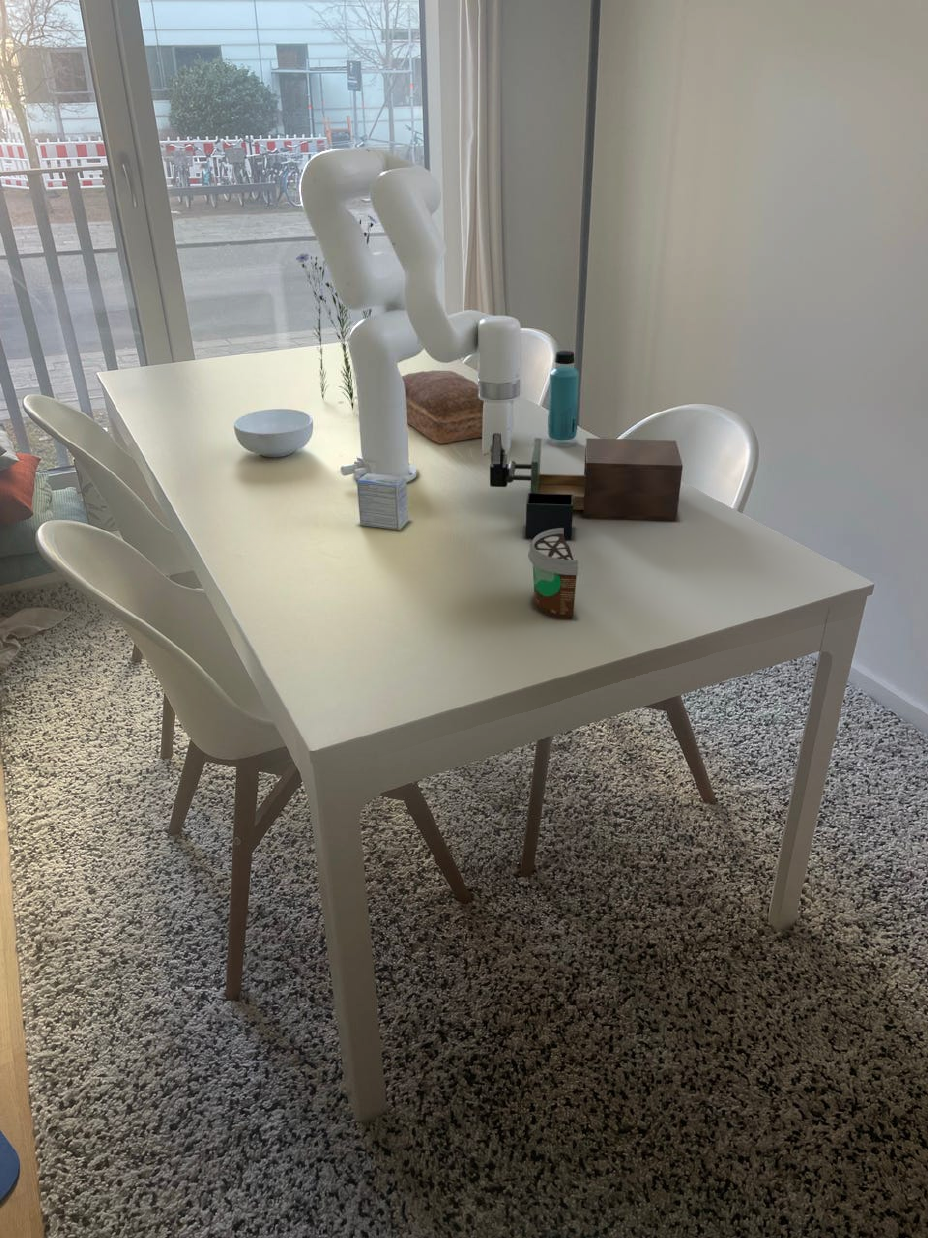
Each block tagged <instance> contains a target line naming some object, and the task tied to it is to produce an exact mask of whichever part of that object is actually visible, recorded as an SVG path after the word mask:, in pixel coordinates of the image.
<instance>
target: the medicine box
mask: <svg viewBox="0 0 928 1238" xmlns="http://www.w3.org/2000/svg"><path fill="white" fill-rule="evenodd" d="M356 488H357V502H358V503H357V504H358V516H359V525H360V526H365V527H373V528H380V529H381V528H382V529H388V530H396V531H401V529H402V528H403V527H404V526H405V525H406V524H407V523H408V522H409V509H408V508H409V507H408V490H407V489H408V488H407V483H406V478H405V477H397V476H389V475H379V474H370V473H367V474H365V475H364V476H363V477H361V478H360V479H359V480H357V481H356Z"/></svg>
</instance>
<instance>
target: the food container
mask: <svg viewBox="0 0 928 1238" xmlns="http://www.w3.org/2000/svg"><path fill="white" fill-rule="evenodd" d="M563 534H564V528H558V529H552V530H548V531H544V532H542V533H540V534H538V535H537V536H536V537H535V538H534V539H532V541H531V543H530V546H529V550H528V555H527V557H528V560H529V562H530V563H531V564H532V576H533V577H532V578H533V598H534V599H533V600H534V601H533V603H534V607H535V608H536V609H537V611H539V612H540V613H542V614H544V615H546V616H549V617H552V618H557V619H564V620H565V619H567V620H570V619H571V620H573V619H574V610H575V600H576V588H577V576H578V575H579V561H578V559H574V557H573V554H572V552H571V548H570V546H569V544H568V542H567V540H565V538H564V536H563Z"/></svg>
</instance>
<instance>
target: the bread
mask: <svg viewBox="0 0 928 1238" xmlns="http://www.w3.org/2000/svg"><path fill="white" fill-rule="evenodd" d="M401 376H402V378H403V381H404V385H405V391H406V410H407V424H408V425H410V426H412V427H413V428H414V429H416V430H417V432H419V433H420V434H422V435H424V436H425V437H427V438H428V439H430V440H431V441H433V442H435V443H437V444H447V443H454V442H459V441H464V440H470V439H478V438H482V437H483V405H484V401H483V400H480V399H479V398H478V384H477V383H476V382H475V381H473V380H471V379H468V378H466V377H465V376H464V375H462V374H459V373H457V372H456V371H452V370H428V371H418V372H409V373H407V374H405V375H401Z"/></svg>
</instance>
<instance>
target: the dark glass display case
mask: <svg viewBox="0 0 928 1238" xmlns="http://www.w3.org/2000/svg"><path fill="white" fill-rule="evenodd" d="M573 516H574V509H573V494H543V493H531V492H528V493H527V496H526V504H525V536H524V537H525V539H528V540H529V539H532V540H533V539H534V538H535V537H536V536H537V535H538V534H540V533H542V532H544V531H548V530H552V529H558V528H564V534H563V536H564V538H565V541H572V537H573V519H574V518H573Z"/></svg>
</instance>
